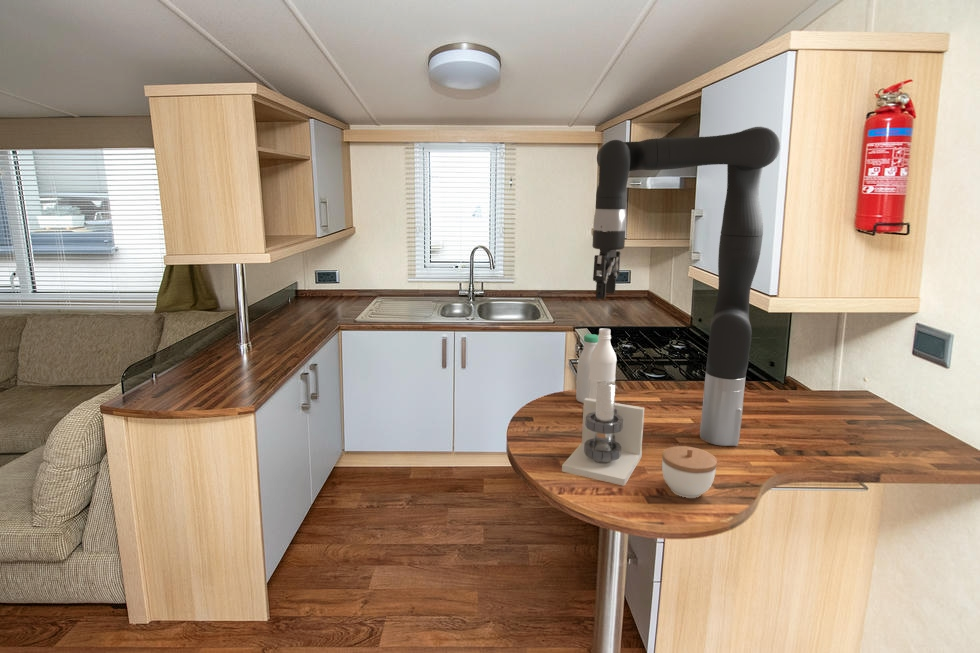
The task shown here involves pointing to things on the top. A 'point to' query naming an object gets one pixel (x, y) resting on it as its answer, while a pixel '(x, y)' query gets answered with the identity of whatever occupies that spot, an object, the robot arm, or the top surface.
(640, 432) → the tube holder
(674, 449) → the lidded jar
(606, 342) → the water bottle
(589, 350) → the milk bottle
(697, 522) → the top surface
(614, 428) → the collars
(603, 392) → the steel tube
